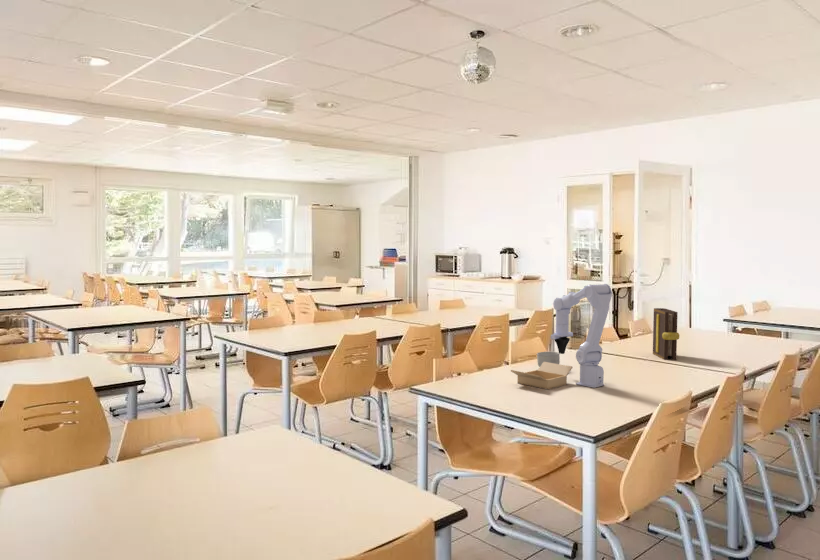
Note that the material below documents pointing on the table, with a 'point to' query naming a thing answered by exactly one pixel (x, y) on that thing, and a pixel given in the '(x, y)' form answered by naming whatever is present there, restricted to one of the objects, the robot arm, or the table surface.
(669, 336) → the book
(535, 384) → the carton
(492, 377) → the table surface
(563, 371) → the flap right
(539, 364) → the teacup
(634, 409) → the table surface
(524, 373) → the flap left
